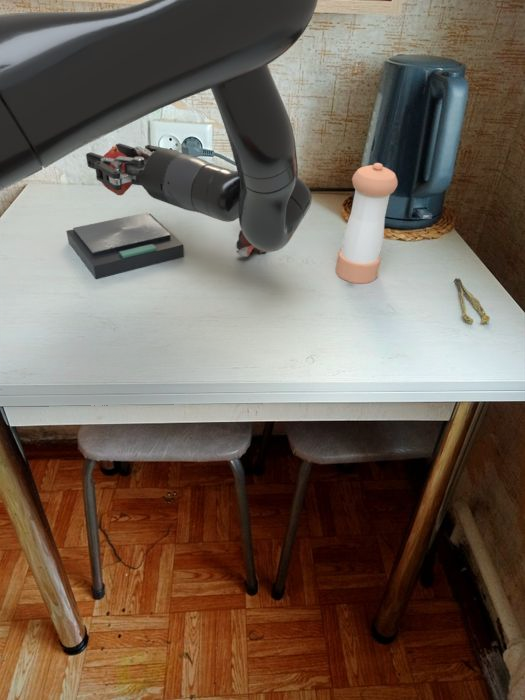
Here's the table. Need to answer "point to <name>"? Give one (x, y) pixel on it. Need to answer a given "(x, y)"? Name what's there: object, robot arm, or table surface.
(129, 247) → the scale
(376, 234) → the pepper shaker
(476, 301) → the tongs
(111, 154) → the onion
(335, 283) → the table surface
